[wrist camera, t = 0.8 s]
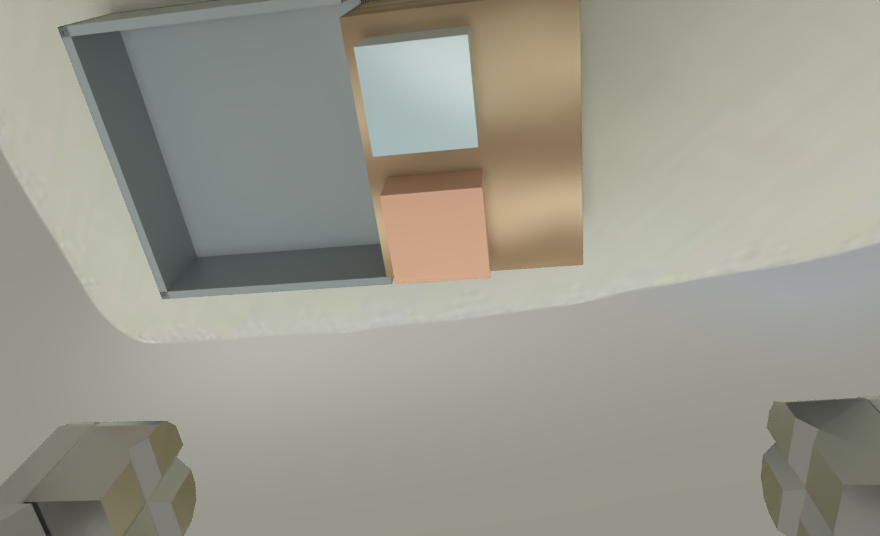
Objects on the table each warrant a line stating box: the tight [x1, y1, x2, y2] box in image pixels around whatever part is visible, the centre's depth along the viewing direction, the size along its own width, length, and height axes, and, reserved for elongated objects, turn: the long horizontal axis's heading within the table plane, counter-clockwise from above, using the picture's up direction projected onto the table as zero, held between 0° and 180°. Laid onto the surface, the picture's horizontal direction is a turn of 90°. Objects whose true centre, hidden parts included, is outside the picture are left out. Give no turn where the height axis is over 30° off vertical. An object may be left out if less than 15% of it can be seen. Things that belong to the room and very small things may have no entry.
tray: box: [58, 0, 394, 299], centre depth 37 cm, size 16×14×5 cm
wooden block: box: [339, 0, 583, 278], centre depth 35 cm, size 14×11×6 cm
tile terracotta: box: [380, 169, 491, 284], centre depth 33 cm, size 5×5×2 cm
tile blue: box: [354, 26, 479, 157], centre depth 30 cm, size 5×5×2 cm
